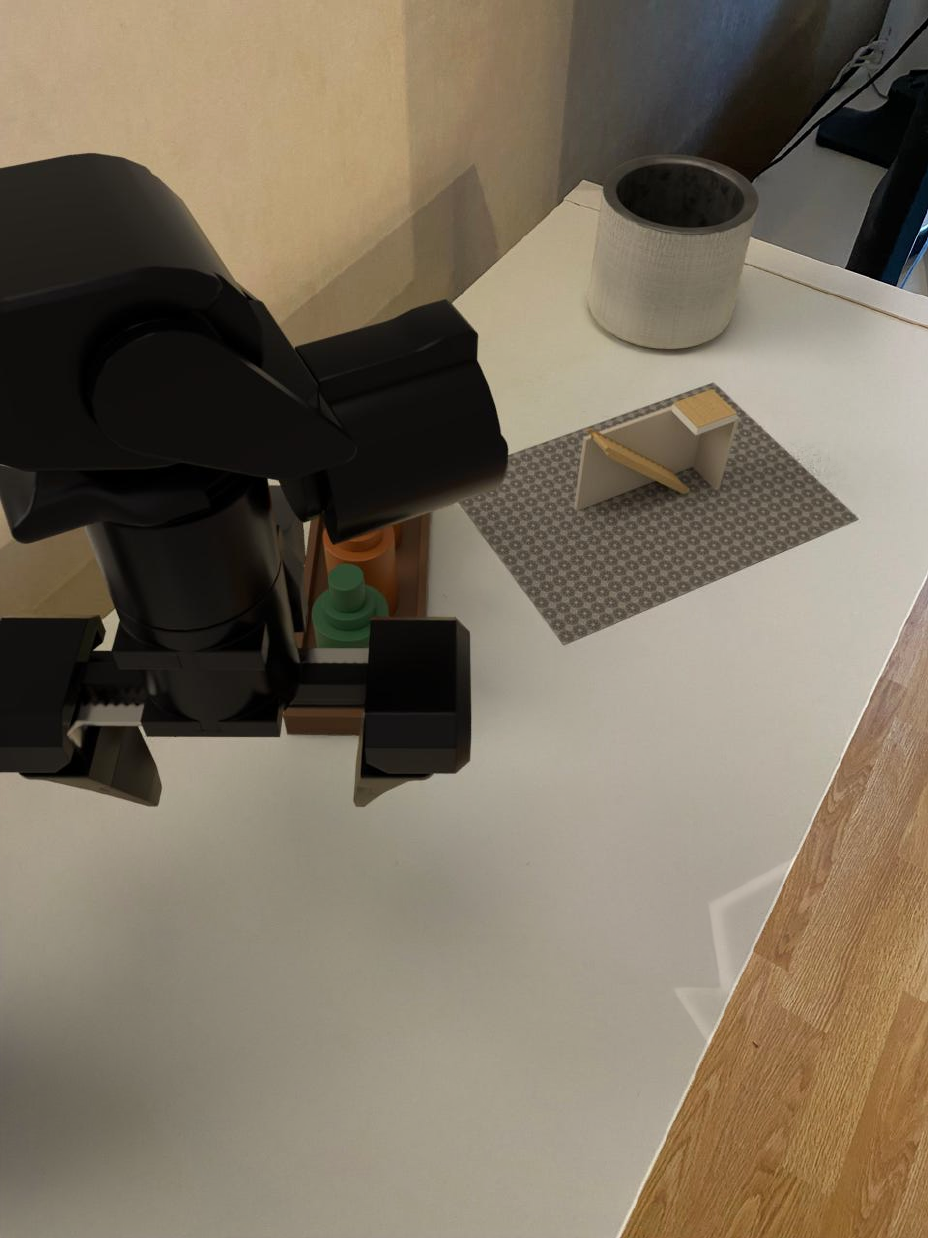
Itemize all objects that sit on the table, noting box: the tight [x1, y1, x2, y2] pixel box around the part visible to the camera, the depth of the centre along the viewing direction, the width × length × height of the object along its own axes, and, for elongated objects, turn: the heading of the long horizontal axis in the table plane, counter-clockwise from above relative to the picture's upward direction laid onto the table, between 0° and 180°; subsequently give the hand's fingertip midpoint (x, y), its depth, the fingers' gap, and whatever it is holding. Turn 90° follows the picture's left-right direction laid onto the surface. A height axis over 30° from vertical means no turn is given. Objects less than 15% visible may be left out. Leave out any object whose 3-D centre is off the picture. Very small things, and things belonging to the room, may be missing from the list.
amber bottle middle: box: [323, 526, 398, 617], centre depth 64 cm, size 4×4×10 cm
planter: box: [587, 154, 759, 350], centre depth 85 cm, size 13×13×11 cm
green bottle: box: [312, 564, 389, 648], centre depth 60 cm, size 4×4×10 cm
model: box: [573, 388, 740, 511], centre depth 72 cm, size 3×11×8 cm, turn 118°
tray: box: [283, 512, 432, 736], centre depth 67 cm, size 20×8×2 cm, turn 0°
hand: (258, 797), depth 46 cm, fingers open, 9 cm apart
